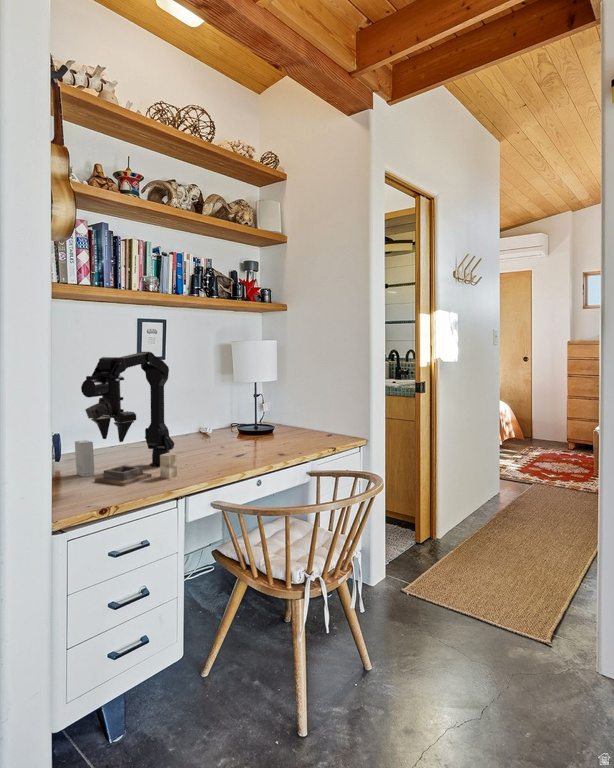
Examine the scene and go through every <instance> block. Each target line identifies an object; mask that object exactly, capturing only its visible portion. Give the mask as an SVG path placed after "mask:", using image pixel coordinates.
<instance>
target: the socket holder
mask: <svg viewBox="0 0 614 768" xmlns="http://www.w3.org/2000/svg"><path fill="white" fill-rule="evenodd" d="M152 476H153V475H152V473H148V472H144V468H143V467H142V466H141V467H140V466H132V465H126V464H125V465H124V464H123V465H119V466H115V467H113V468H108V469H105V470H103V475H102V476H100V477H96V478H94V483H95V482H96V483H102V484H110V485H116V486H123V487H126V486H128V485H131V484H134V483H137V482H139V481H143V480H147V479H149V478H152Z"/></svg>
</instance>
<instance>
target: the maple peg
mask: <svg viewBox="0 0 614 768" xmlns="http://www.w3.org/2000/svg"><path fill="white" fill-rule="evenodd" d="M177 458H178V455H177V453H171V452H170V453H165V454H162V455H160V466H159V468H160V469H159V472H160V474H159V475H160V478H161V479H167V480H169V479H170V480H171V479H172V478H176V477H178V465H177V464H178V459H177Z"/></svg>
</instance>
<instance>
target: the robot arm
mask: <svg viewBox="0 0 614 768" xmlns="http://www.w3.org/2000/svg"><path fill="white" fill-rule="evenodd" d="M138 365H140V368H141V370H142V371H143V372H144V373H145V377H146V378H145V379H146V381H147V382H148V384H149V387H150V388H149V389H150V423H149V426H148V427H146V428H145V430H144V432H145V433H144V435H145V436H144V439H145V442H146V444H147V448H148V450H152V454H151V460H152V462H151V463H149V466H155V467H160V455H162V454H165V453H171V451H172V450H173V449H174V448H175V442H174V440H173V439H172V438H171V437H170V431H169V428H168V427H167V425H166V424H165V385H166V383H167V381H168V380H169V373H170V367H169V365H167V363H165V361H164V360H162V359H161V358H159V357H158V356H155V354H154V353H153V352H151V351H139V352H137V353H133V354H128V355H124V356H121V357H120V356H119V357H114V356H112V357H111V356H109V357H108V356H107V357H105V356H104V357H103V356H102V357H100V358H99V359H98V362H97V364H96V366H95V368H94V370H93V372H92V374H91V375H87V376H85V380H83V382H82V385H81V386H80V387H81V388H80V389H81V393H82V395H83V396H84V397H86V398H95V397H99V399H98V402H97V403H95V404H93V405H91V406H88V407H87V408H85V409H84V411H85V413H86V416H87V418H88V419H89V420H91V421H92V422H94V424H96V426H97V428H98V430H99V431H100V434H101V437H102V439H103V440H107V437H108V434H109V429H110V425H111V419H113V420H114V422H113V424H114V425H115V426H116V427H117V432H118V433H117V436H118V441H119V443H123V442H124V440H125V437H126V436H127V434H128V432H129V430H130V428H131V425H132V424H133V423H134V422H135V421H137V413H136V412H134V411H125V410H124V408H121V407H122V404H121V401H124V397H122V396H121V381H124V380H125V378H124V376H122V375H121V374H122V373H124V372H125V371H126V369H129V368H132V367H136V366H138Z"/></svg>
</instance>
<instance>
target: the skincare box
mask: <svg viewBox="0 0 614 768" xmlns="http://www.w3.org/2000/svg"><path fill="white" fill-rule="evenodd" d="M74 450H75V451H74V453H75V467H76V469H75V470H76V475H78V476H81V477H83V478H86V477H92V476H95V474H96V473H95V460H94V459H95V458H94V457H95V456H94V442H93V441H92V440H91V441H90V440H87V439H83V440H77V441H74Z"/></svg>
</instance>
